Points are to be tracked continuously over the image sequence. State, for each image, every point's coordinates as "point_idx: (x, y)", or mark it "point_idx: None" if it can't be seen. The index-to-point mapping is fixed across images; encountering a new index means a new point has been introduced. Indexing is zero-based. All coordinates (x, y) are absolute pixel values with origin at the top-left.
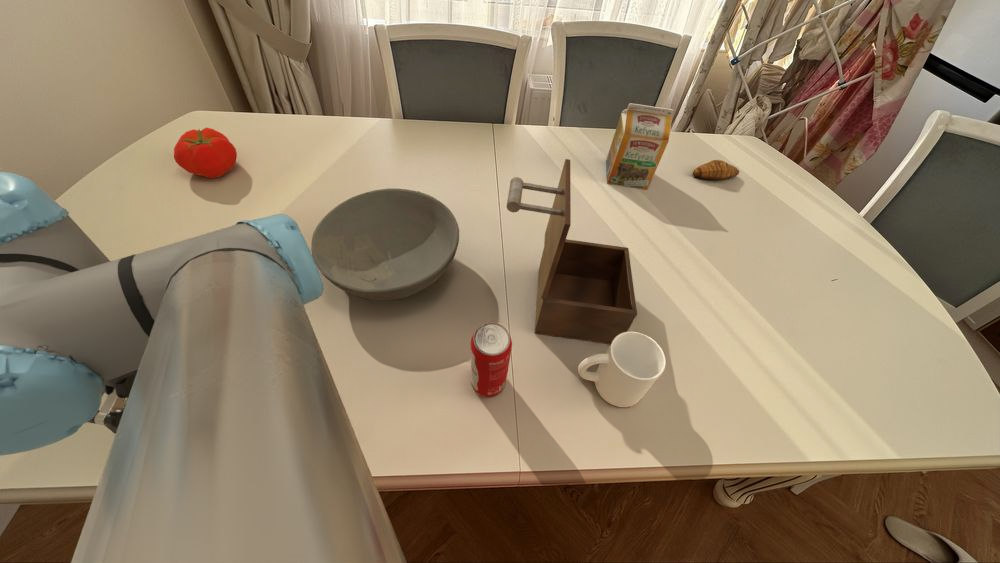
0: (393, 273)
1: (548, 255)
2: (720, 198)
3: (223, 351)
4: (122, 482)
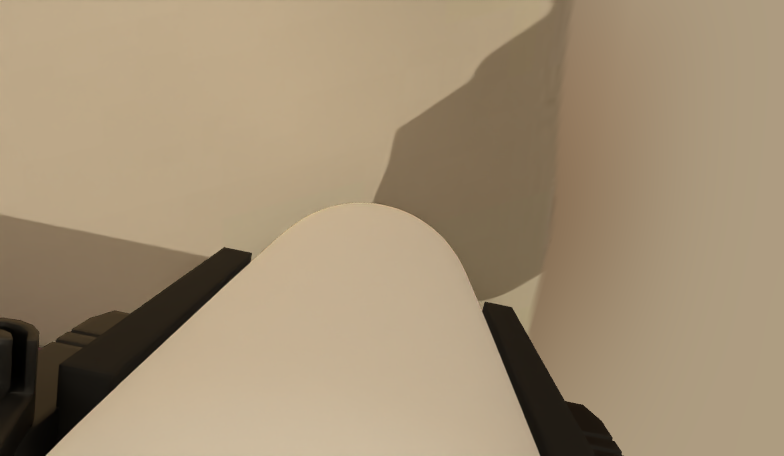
0: None
1: None
2: None
3: None
4: None
